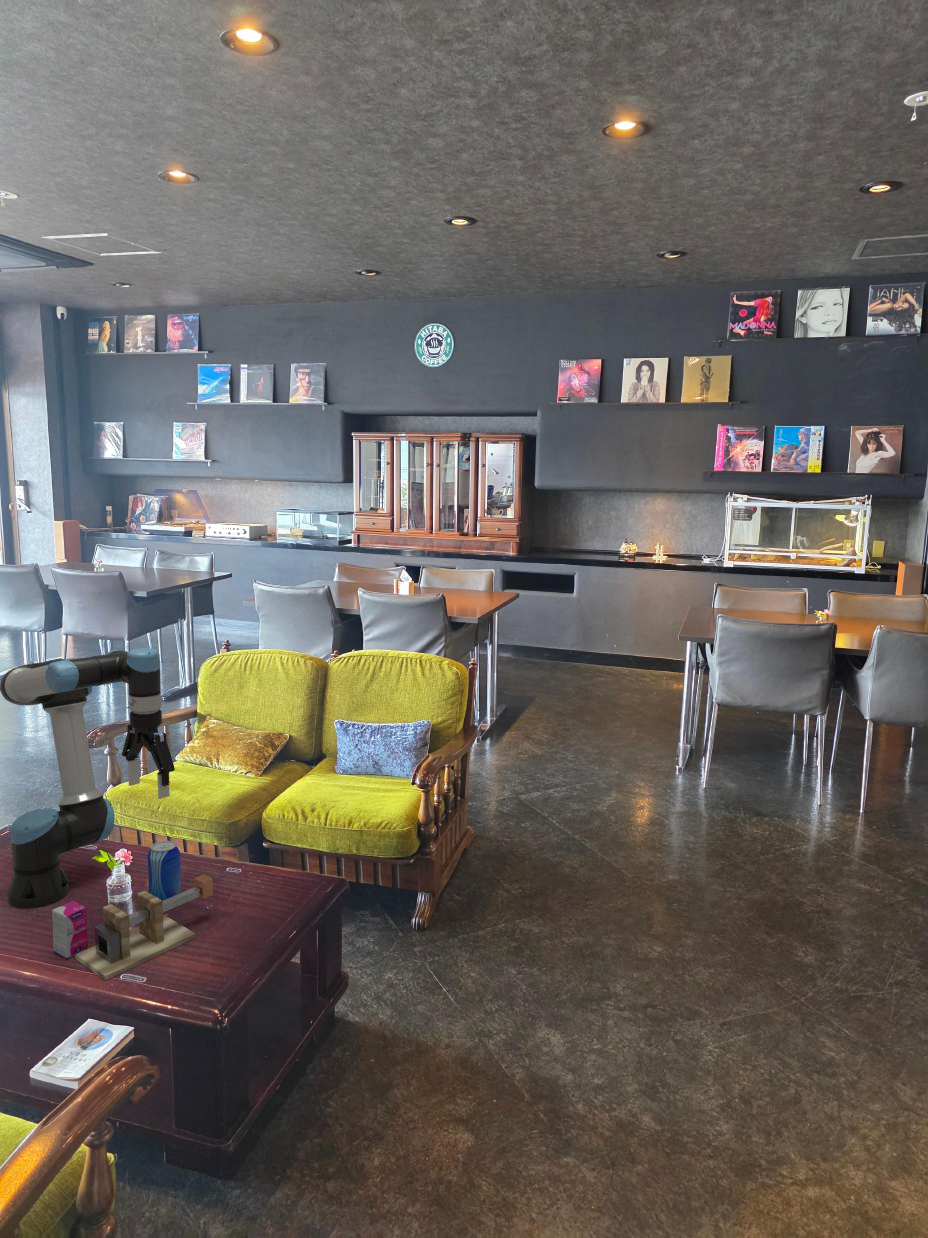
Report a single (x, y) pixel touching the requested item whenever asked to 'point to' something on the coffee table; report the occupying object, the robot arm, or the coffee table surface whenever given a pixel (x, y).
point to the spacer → (107, 943)
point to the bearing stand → (137, 938)
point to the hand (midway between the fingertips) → (148, 790)
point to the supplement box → (69, 929)
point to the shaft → (178, 898)
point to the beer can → (164, 870)
